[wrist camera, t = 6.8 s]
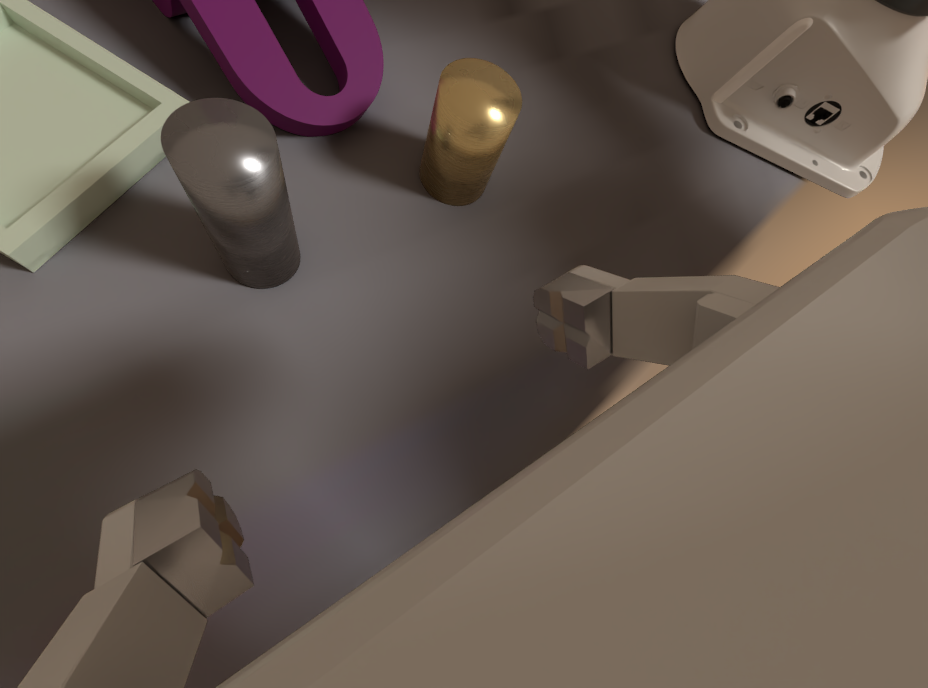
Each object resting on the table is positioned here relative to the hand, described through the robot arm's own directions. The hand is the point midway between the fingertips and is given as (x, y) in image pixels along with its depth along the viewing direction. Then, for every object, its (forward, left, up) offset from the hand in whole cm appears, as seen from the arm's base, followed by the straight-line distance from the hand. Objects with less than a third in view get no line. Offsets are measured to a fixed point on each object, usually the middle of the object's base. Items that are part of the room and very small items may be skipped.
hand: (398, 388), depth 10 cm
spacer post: (+11, -6, -15) cm, 19 cm away
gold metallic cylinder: (+5, -18, -15) cm, 24 cm away
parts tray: (+25, -5, -15) cm, 29 cm away
